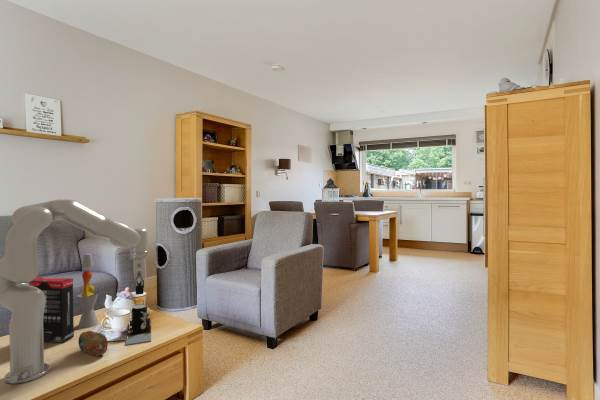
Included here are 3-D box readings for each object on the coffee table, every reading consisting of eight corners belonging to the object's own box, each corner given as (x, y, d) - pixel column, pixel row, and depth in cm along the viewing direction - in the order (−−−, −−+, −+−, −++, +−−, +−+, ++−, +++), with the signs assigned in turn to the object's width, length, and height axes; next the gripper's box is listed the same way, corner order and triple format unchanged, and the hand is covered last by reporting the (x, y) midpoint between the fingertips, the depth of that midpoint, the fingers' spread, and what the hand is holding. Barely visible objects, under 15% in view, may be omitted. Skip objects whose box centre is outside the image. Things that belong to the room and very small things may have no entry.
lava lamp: (88, 328, 165) (87, 255, 164) (72, 327, 167) (72, 255, 166) (103, 322, 173) (102, 252, 173) (88, 320, 176) (87, 252, 175)
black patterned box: (151, 333, 159) (151, 325, 159) (126, 337, 155) (126, 328, 155) (151, 326, 168) (151, 317, 168) (128, 329, 164) (128, 320, 164)
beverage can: (137, 335, 157) (137, 309, 157) (128, 332, 160) (128, 306, 160) (150, 330, 163) (150, 305, 162) (141, 327, 166) (141, 303, 166)
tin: (77, 351, 142) (77, 330, 141) (85, 348, 144) (85, 328, 144) (101, 358, 135) (101, 337, 135) (109, 355, 138) (109, 334, 138)
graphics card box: (75, 337, 155) (74, 277, 155) (63, 344, 148) (62, 280, 148) (40, 335, 157) (39, 276, 156) (26, 342, 150) (25, 279, 149)
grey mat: (151, 341, 151) (151, 340, 151) (125, 345, 147) (125, 344, 147) (151, 333, 159) (151, 332, 159) (126, 337, 155) (126, 336, 155)
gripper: (147, 257, 154) (148, 295, 155) (148, 251, 170) (148, 285, 171) (129, 259, 151) (129, 297, 152) (131, 252, 167) (132, 287, 168)
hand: (140, 291), depth 161 cm, fingers open, 9 cm apart
